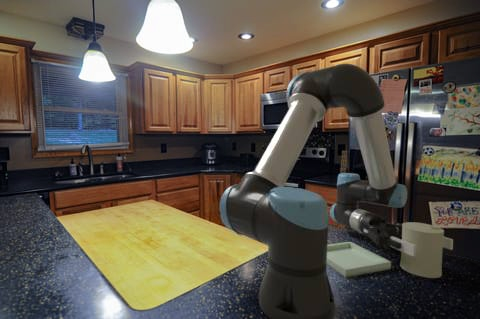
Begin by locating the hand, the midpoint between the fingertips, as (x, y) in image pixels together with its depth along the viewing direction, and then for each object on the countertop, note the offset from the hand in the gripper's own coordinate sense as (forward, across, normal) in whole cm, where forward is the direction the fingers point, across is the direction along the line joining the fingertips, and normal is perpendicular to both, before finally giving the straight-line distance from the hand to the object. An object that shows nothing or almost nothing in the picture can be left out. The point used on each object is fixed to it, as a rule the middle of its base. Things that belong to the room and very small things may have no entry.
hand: (434, 247), depth 65 cm
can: (-3, 0, -7) cm, 8 cm away
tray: (-13, +15, -7) cm, 21 cm away
